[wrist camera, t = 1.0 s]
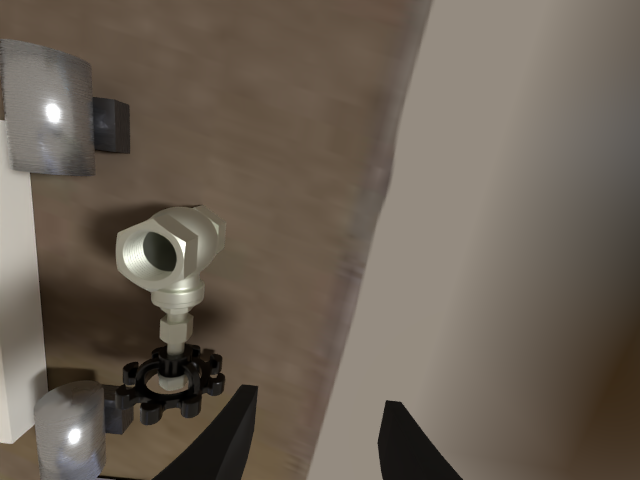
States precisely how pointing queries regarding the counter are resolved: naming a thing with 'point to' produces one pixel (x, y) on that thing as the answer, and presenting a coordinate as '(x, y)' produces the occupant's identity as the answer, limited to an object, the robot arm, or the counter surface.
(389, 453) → the robot arm
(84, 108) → the pipe stubs
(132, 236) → the valve
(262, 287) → the counter surface
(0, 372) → the bar
